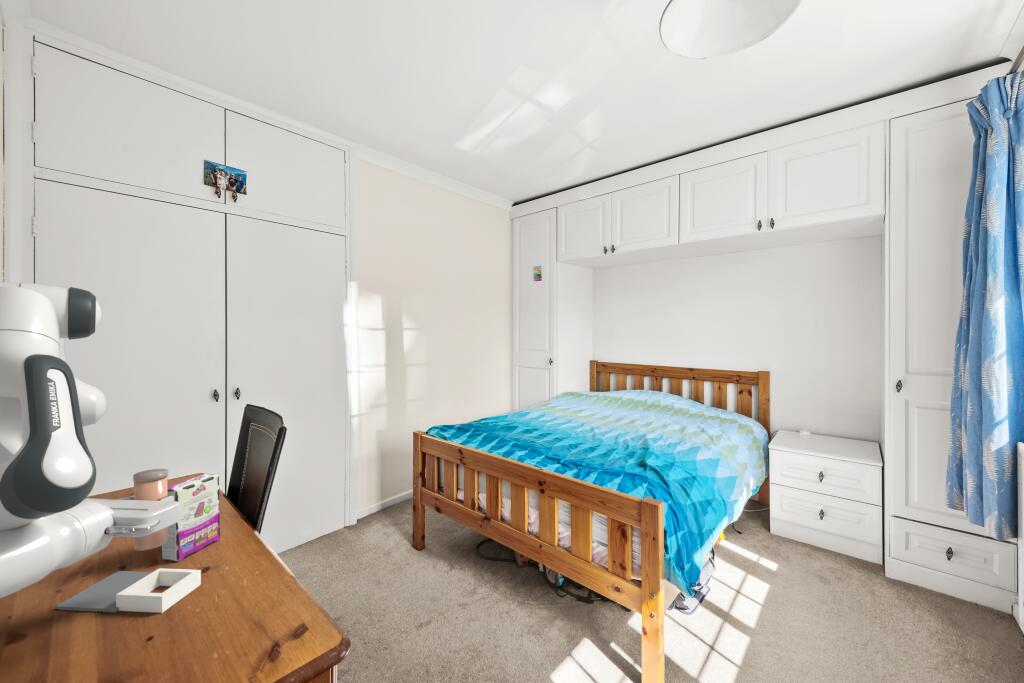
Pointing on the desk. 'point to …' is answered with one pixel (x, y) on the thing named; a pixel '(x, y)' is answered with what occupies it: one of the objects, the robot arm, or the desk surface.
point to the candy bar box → (193, 517)
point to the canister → (150, 489)
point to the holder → (144, 601)
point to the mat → (102, 593)
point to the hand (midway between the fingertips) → (155, 499)
